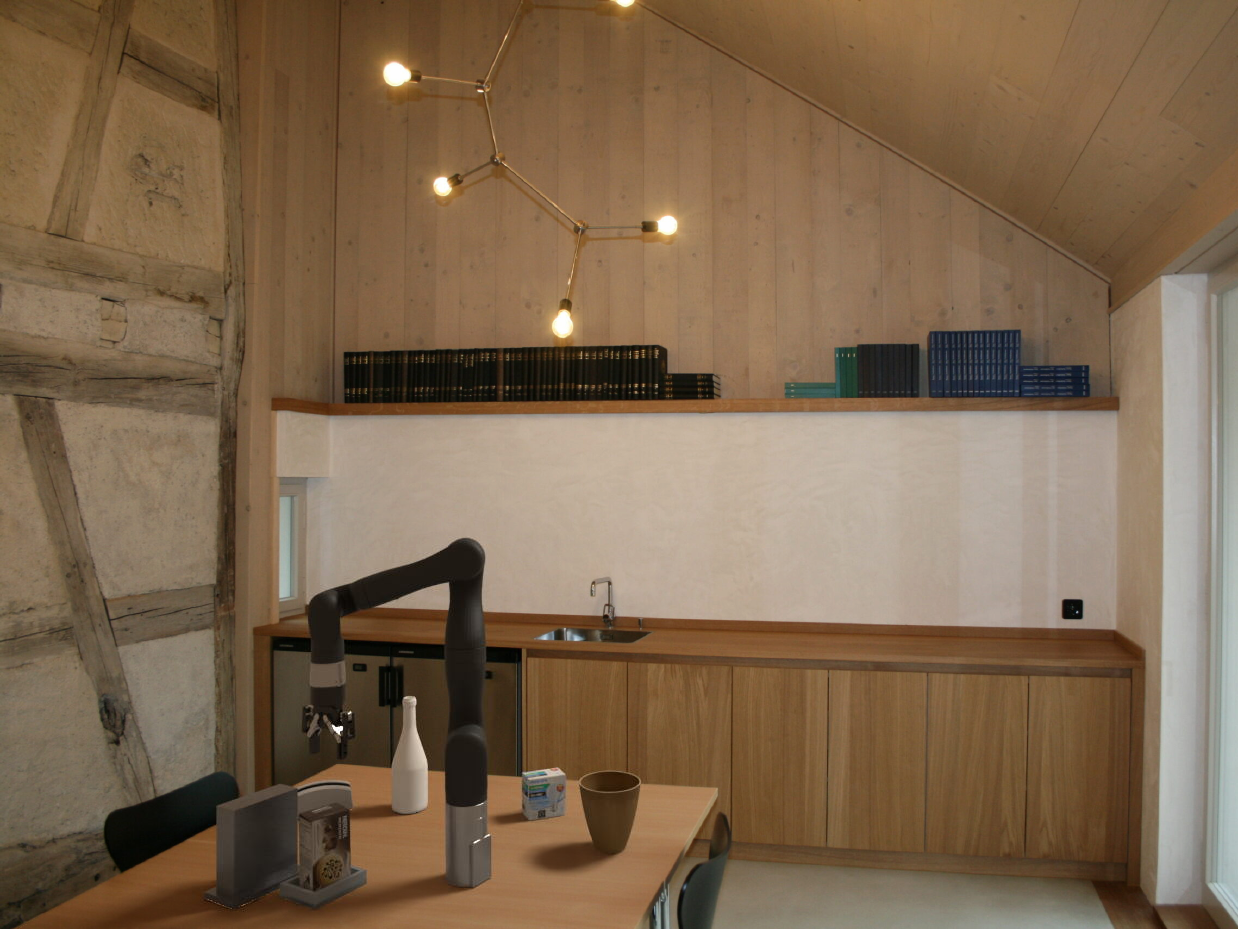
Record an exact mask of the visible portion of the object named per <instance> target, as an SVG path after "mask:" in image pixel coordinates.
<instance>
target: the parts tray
mask: <svg viewBox="0 0 1238 929" xmlns="http://www.w3.org/2000/svg"><path fill="white" fill-rule="evenodd" d="M367 871H368V870H367V869H365V868H363V867H360V866H355V865H352V864H351V875H350V876H348V877H345V878H343V879H341V880H339V881H337V882H335V883H333V884H331V885H329V886H327V887H325V888H323V889H321V890H319V891H317V892H313V891H310V890H307V889H304V888H301V887H299V875H297V876H295V877H293V878H290V879H288V880H286V881H284V882H282V883H280V889H279V899H282V898H283V900H285V899H287V900H286V901H288V900H290V901H289V902H291V903H293V902H294V903H293V904H296V903H297V905H299V904H300V906H302V907H305V908H309V909H311V910H313V911H316V910H317V909H320V908H321V906H322V907H323V906H325V905H328V904H329V903H332V902H333V901H336V900H338V899H339V898H341V897H342V896H345V895H347V894H349V893H351V892H353V891H355V890H357V889H358V888H360V887H362V886H364V885H367V879H368V878H367Z"/></svg>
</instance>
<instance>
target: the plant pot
mask: <svg viewBox="0 0 1238 929" xmlns="http://www.w3.org/2000/svg"><path fill="white" fill-rule="evenodd" d="M641 780H642V779H641V778H639V776H638V775H636V774H633V773H630V772H625V771H620V770H602V771H596V772H595V771H593V772H591V773H588V774H585V775H583V776H582V777H581V778H580V779H579V780H578V785H579V793H580V800H581V804H582V809H583V810H582V811H583V814H584V817H585V818H584V819H585V823H586V825H587V829H588V832H589V835H590V837H591V841H592V843H593V846H594V848H595V850H597V851H598V852H600V853H602V854H617V853H621V852H622V851H624V850H625V849H626V847H627V845H628V842H629V841H628V840H629V839H630V836H631V832H632V829H633V827H634V822H635V818H636V814H637V810H638V804H639V799H640V798H639V797H640V791H641V784H642V781H641Z"/></svg>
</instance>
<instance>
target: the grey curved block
mask: <svg viewBox="0 0 1238 929" xmlns="http://www.w3.org/2000/svg"><path fill="white" fill-rule="evenodd" d="M296 788H298V819H299V813H303V812H306V811H309V810H312V809H316V808H319V807H323V806H326V805H329V804H333V803H339V804H341V805H343V806H345V807H346V808H348V809H353V810H354V808H353V807H354V801H353V792H352V786H351V783H350V782H349V781H347V780H341V779H339V780H338V779H325V780H317V781H313V782H308V783H305V784H302V785H299V786H297V787H296Z"/></svg>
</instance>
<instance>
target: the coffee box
mask: <svg viewBox="0 0 1238 929" xmlns="http://www.w3.org/2000/svg"><path fill="white" fill-rule="evenodd" d="M298 851H299V852H298V858H299V860H298V865H299V887H301V888H304V889H307V890H310V891H313V892H317V891H319V890H321V889H323V888H325V887H327V886H329V885H331V884H333V883H335V882H337V881H339V880H341V879H343V878H345V877H348V876H350V875H351V865H352V862H351V859H352V858H351V852H352V851H351V811H350V809H348V808H346V807H345V806H343V805H341V804H339V803H333V804H329V805H326V806H323V807H319V808H316V809H312V810H309V811H306V812H303V813H299V818H298Z"/></svg>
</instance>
